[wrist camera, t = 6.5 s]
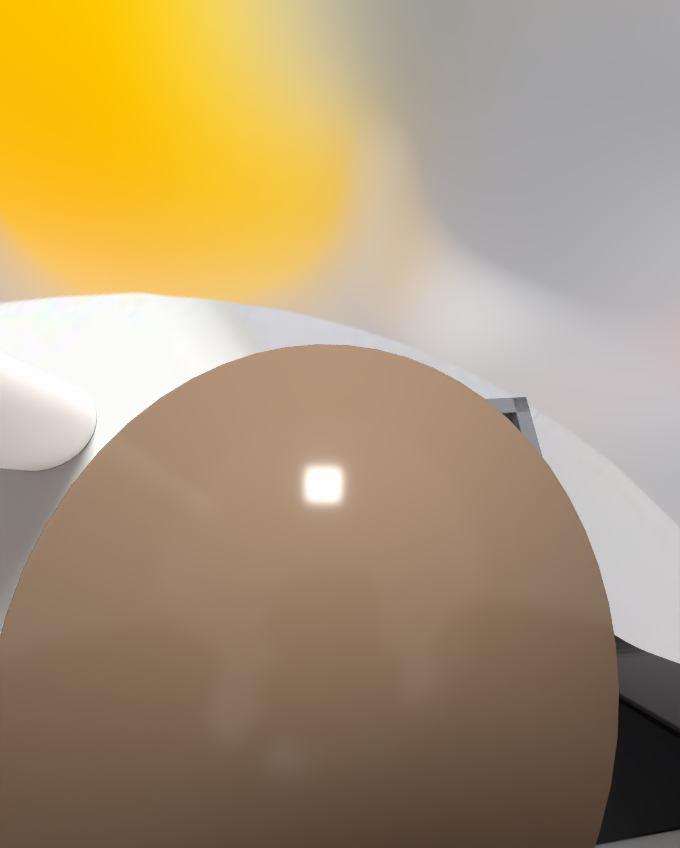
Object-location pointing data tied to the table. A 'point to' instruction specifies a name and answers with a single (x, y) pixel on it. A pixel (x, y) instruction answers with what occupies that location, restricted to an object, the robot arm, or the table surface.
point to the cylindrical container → (40, 418)
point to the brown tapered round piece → (310, 626)
